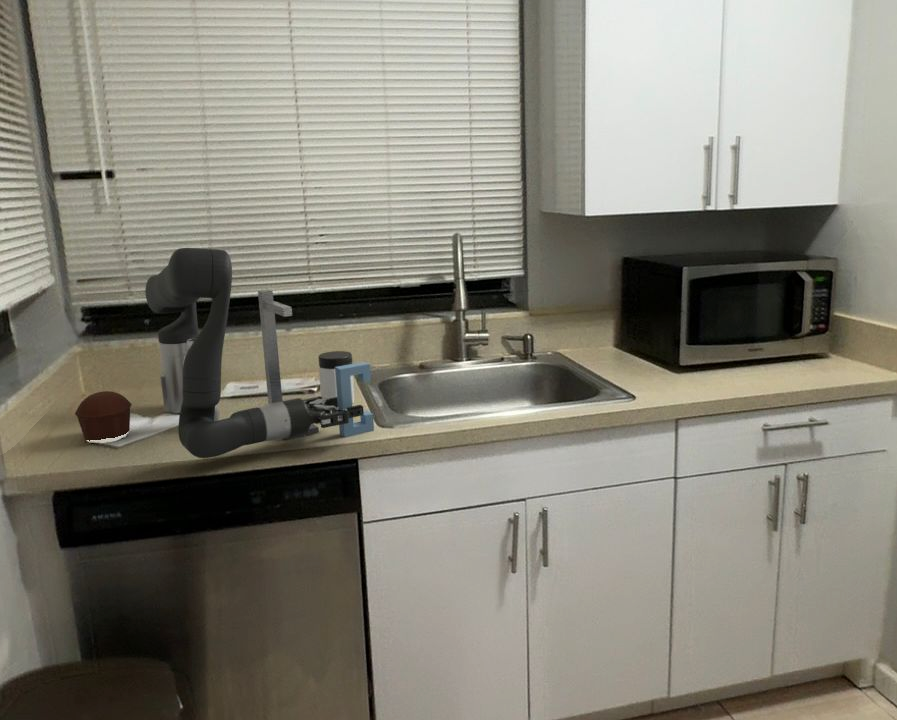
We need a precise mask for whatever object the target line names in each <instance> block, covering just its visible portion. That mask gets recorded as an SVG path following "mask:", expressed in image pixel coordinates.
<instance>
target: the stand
mask: <svg viewBox="0 0 897 720" xmlns="http://www.w3.org/2000/svg"><path fill="white" fill-rule="evenodd" d="M257 295H258V306H259V316H260V327H261V337H262V339H261V340H262V348H263V350H262V351H263V357H264V371H265V380H266V390H267V391H266V392H267V401H268V403H267V404H271V403H276V402H281V401H283V392H282V379H281V369H280V357H279V348H278V337H277V335H278V334H277V325H276V315H279V316H282V317H285V318H286V317H291V316H293V309H292V306H289V305H286V304H284V303H281V302H278V301H275V300H274V292H273V290H272V289H271V290H270V289H265V290H257ZM314 433H315V434H317V433H318V434H319V433H320V430H319V426H317V424H311V425H310V427H309V431H308V432H307V433H305V434H301V435H297V436H292V437H288V438H283V439H282V441H286V439H288V440H291V438H292V439H296V438H295V437H297V438H300V436H301V437H305V436H304V435H306V436H309V434H310V435H313V434H314Z"/></svg>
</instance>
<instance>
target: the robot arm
mask: <svg viewBox="0 0 897 720" xmlns="http://www.w3.org/2000/svg"><path fill="white" fill-rule="evenodd" d="M231 259H232V258H231V256H230V254H229V252H227V251H226V250H223V249H215V248H202V247H201V248H199V247H196V248H195V247H183V248H182V247H180V248H178V249H175V251H174V252H173V253H172V254H171V256H170V258H169V261H168V264H167V265H166V266H165V267H164V268H163V269H162V270H161V271H160V272H159V273H157V274H155V275H151V276H149V278H148V279H147V281H146V283H145V290H144V291H145V292H144V294H145V299H146V302H147V305H148V307H149V308H150V310H151V311H153V313H155V314H160V315H161V314H162V315H163V314H173V313H175V314H176V313H181V314H180V316H179V317H178V318H177V319H176V320H175V321H172V323H170V324H168V325H166V326H164V327H162V328H160V329H159V330H158V332H157V337H158V347H159V354H160V355H159V356H160V360H161V361H160V362H161V370H162V373H160V386H161V392H162V401H163V408H164V409H163V410H164V413H170V412H173V413H172V414H175V413H180V414H179V419H178V426H177V427H178V428H177V429H178V432H177V433H178V439H179V441H180V444H181V445H182V446H183V447H184V448H185V449H186V450H187V451H188V453H190V454H191V455H192V456H193V457H196V458H199V459H211V458H216V457H219V456H223V455H225V454H227V453H229V452H231V451H232V452H233V451H234V450H238V449H239V448H241V447H244V446H250V445H253V444H259V443H263V442H264V443H265V442H269V441H278V440H279V441H280V440H283V438H288V437H292V436H297V435H301V434H305V433H307V432H308V431H309V427H310V425H311V424H314V425H320V428H321V429H325V428H330V427H336V426H339V425H341V424H347V423H349V418H353V419H354V418H357V417H361V416H362V415H363V414H364V412H365V411H364V406H363V405H362V404H357V405H352V407H347V408H338V403H337V397H334V398H329V399H328V398H323V399H322V396H321V395H318V396H316V397H311V398H305V399H303V398H300V397H299V398H297V397H296V398H292V399H287V400H282V401H281V402H276V403H271V404H269V403H267V404H264V405H261V406H257V407H251V408H247V409H243V410H238V411H235V412H233V413H232V414H231V415H230V417H226V418H224V419H219V420H218V421H214V415H215V406H216V405H217V406H218V404H219V403H220V401H221V395H222V394H221V393H222V391H221V390H222V362H223V361H222V360H223V359H222V357H223V352H224V351H223V350H224V344H225V343H224V342H225V338H226V337H225V336H226V331H227V323H228V316H229V309H230V308H229V307H230V302H231V301H230V300H231V295H232V294H231V293H232V286H233V285H232V284H233V267H232V266H233V265H232V261H231ZM200 299H211V306H210V311H209V314H208V318H207V320H206V321H205V324H204V325H203V327H202V329H201V330H200V332H199V325H198V313H197V301H198V300H200ZM194 338H196V339H195V341H194V342H193V344H192V345H191V347H190V349H187V340H189V339H194ZM185 356H186V357H185ZM184 358H185V360H184ZM183 360H184V364H183ZM340 415H342V417H338V416H340Z"/></svg>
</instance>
